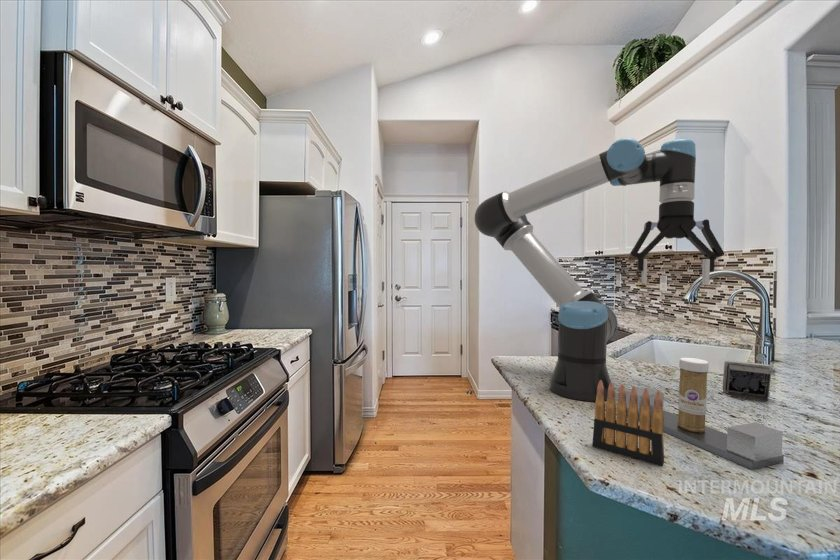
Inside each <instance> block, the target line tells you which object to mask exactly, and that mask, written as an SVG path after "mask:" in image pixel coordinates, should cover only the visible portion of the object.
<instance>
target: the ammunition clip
mask: <svg viewBox="0 0 840 560" xmlns="http://www.w3.org/2000/svg"><path fill="white" fill-rule="evenodd" d="M644 388H645V389H644V392H643V395H642V404H641V410H640V421H639V411H638V398H637V391H636V389H637V388H636V386H635V385H633V386H632V387H631V393H630V402H629V408H628V416H627V406H626V391H625V390H626V387H625V385H624V383H622V384H621V385H620V386H619V390H618V397H617V405H616V393H615V391H616V390H615V386H614V383H613V381H611V382H610V384H609V387H608V393H607V400H606V403H605V400H604V387H603V383H602V380H600V381H599V383H598V387H597V396H596V401H595V404H594V420H593V429H592V430H593V434H592V444H591V445H592V447H593V448H596V449H599V450H602V451H606V452H609V453H613V454H616V455H620V456H623V457H624V456H625V457H628V458H630V459H631V458H632V459H635V460H638V461H642V462H646V463H649V464H653V465H656V466H659V467H663V466H664V462H665V457H664V456H665V452H664V451H665V450H664V446H665V445H664V432H663V430H664V417H663V410H664V403H662V396H661V393H660V392H661V391H660V389H657V393H656V395H655V400H654V409H653V414H652V426H651V412H650V398H649V392H648V390H647V388H648V387H644ZM662 406H663V408H662Z"/></svg>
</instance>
